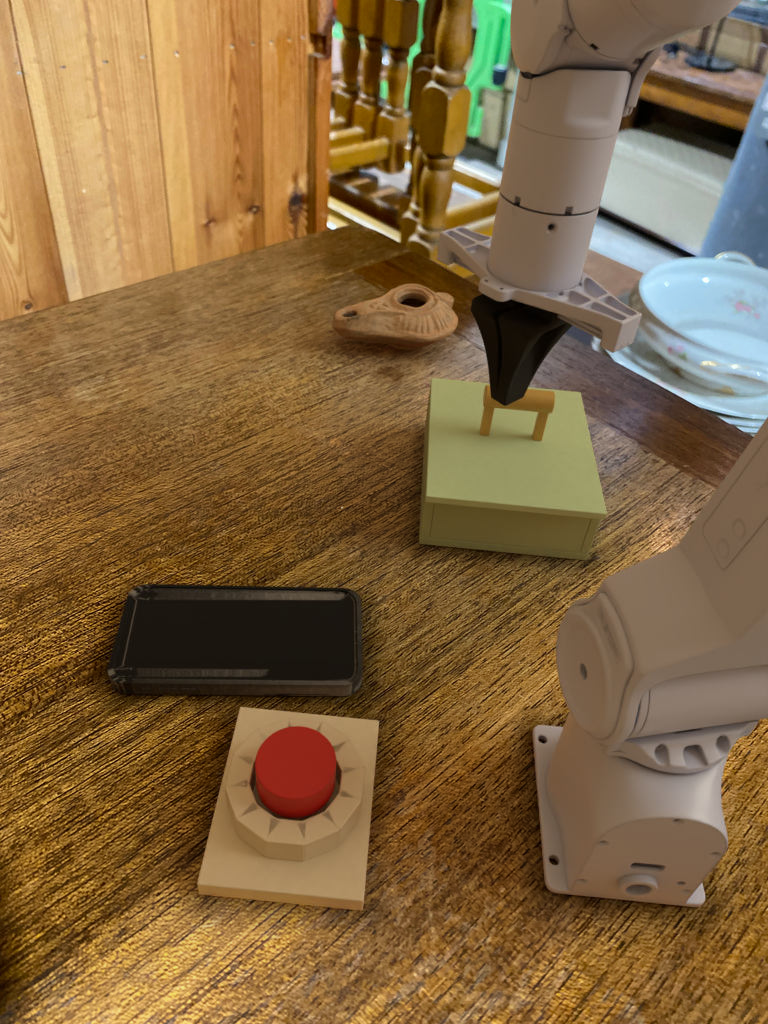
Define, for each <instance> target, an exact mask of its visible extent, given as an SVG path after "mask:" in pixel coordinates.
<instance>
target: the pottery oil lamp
mask: <svg viewBox="0 0 768 1024" xmlns="http://www.w3.org/2000/svg"><path fill="white" fill-rule="evenodd" d="M454 303H455V298H454V297H453V296H452V295H451V294H449V293H447V292H441V291H438V292H435V291H433V290H432V289H430V288H429V287H427V286H425V285H422V284H419V283H403V284H401V285H398V286H396V287H394V288H391V289H390V290H389V291H387V292H386V293H385V294H383V295H381V296H379V297H376V298H373V299H368V300H364V301H360V302H358V303H355V304H353V305H352V304H351V305H348V306H344V307H342V308H340V309H337V311H335V312H334V315H333V317H332V320H331V324H330V325H331V328H332V329H333V330H334V332H335V333H337V335H339V337H342V338H344V339H347V340H351V341H355V342H361V343H362V342H364V343H372V344H386V345H387V346H389V347H391V348H394V349H396V350H397V349H398V350H408V351H409V350H417V349H420V348H422V347H425V346H429V345H432V344H434V343H437V342H440V341H441V340H443V339H445V338H448V337H450V336H451V335H452V334H453V333H455V331H456V329H457V327H458V324H459V317H458V316H457V314H456V312H455V311H454V310H453V306H454Z"/></svg>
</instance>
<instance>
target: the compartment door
mask: <svg viewBox="0 0 768 1024" xmlns="http://www.w3.org/2000/svg"><path fill="white" fill-rule="evenodd" d="M430 385H431V386H430ZM430 385H429V392H430V408H429V430H428V452H427V475H426V497H425V502H429V503H439V504H449V505H459V506H469V507H479V508H489V509H500V510H510V511H520V512H530V513H540V514H550V515H561V516H571V517H581V518H591V519H601V520H603V521H605V520H606V519H607V516H608V511H607V508H606V503H605V498H604V493H603V489H602V484H601V479H600V476H599V470H598V466H597V461H596V456H595V452H594V448H593V447H594V446H593V444H592V443H593V442H592V439H591V433H590V430H589V424H588V421H587V415H586V411H585V407H584V401H583V396H582V392H580V391H573V390H563V389H553V388H551V389H550V388H540V387H532V386H531V387H530V386H529V387H528V389H527V391H526V393H525V395H524V397H523V398H521V399H519V400H517V401H515V402H513V403H511V404H509V405H507V406H504V405H502V404H500V403H499V402H497V401H496V400H494V399H493V398H491V392H490V382H479V381H469V380H459V379H449V378H439V377H431V378H430ZM601 520H600V521H601Z"/></svg>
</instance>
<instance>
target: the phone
mask: <svg viewBox="0 0 768 1024" xmlns="http://www.w3.org/2000/svg"><path fill="white" fill-rule="evenodd" d="M362 617H363V615H362V599H361V595H359V593H358V592H357V591H355V590H353V589H351V588H347V587H317V586H316V587H315V586H270V585H269V586H268V585H267V586H264V585H218V584H217V585H216V584H215V585H213V584H211V585H209V584H170V583H169V584H165V583H147V584H145V583H144V584H141V585H137V586H135V587H134V588H132V589H131V590H130V591H129V592H128V593H127V596H126V599H125V604H124V606H123V610H122V614H121V618H120V621H119V624H118V628H117V631H116V636H115V638H114V643H113V647H112V650H111V653H110V657H109V661H108V664H107V675H108V679H109V682H110V685H111V688H112V689H113V690H114V691H115V692H117V693H120V694H123V695H159V696H160V695H166V696H167V695H168V696H169V695H171V696H172V695H177V696H178V695H179V696H181V695H182V696H265V697H266V696H267V697H268V696H273V697H275V696H276V697H278V696H279V697H280V696H281V697H282V696H283V697H288V696H289V697H298V696H299V697H346V696H347V697H348V696H351V695H353V694H355V693H356V692H357V691H359V689H360V688H361V687H362V681H363V671H364V665H363V663H364V661H363V621H362V620H363V619H362Z"/></svg>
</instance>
